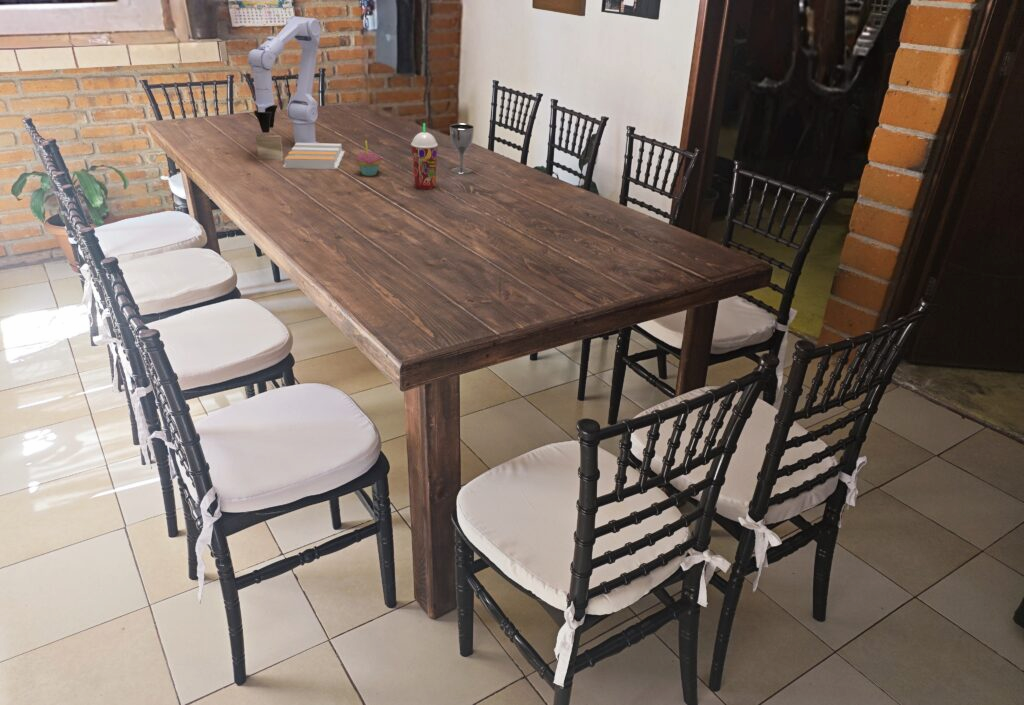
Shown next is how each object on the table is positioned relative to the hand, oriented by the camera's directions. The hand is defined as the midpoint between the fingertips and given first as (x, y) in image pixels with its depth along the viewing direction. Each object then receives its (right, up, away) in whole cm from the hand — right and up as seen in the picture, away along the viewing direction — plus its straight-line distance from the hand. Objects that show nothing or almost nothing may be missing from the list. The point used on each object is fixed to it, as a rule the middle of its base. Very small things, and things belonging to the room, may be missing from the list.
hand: (268, 129), depth 256 cm
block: (-1, -9, +5) cm, 10 cm away
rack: (+14, -9, +6) cm, 18 cm away
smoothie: (+55, -23, -14) cm, 62 cm away
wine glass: (+66, -13, +3) cm, 67 cm away
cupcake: (+35, -16, -5) cm, 39 cm away
